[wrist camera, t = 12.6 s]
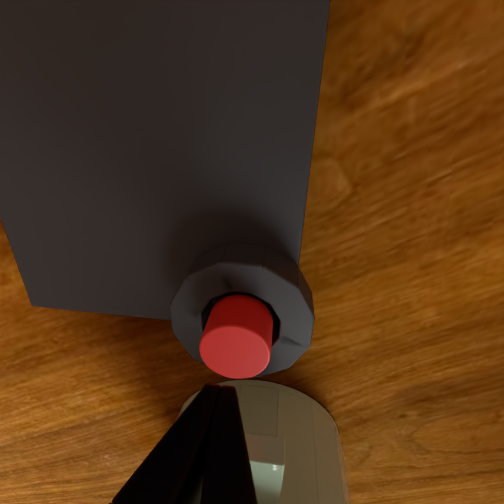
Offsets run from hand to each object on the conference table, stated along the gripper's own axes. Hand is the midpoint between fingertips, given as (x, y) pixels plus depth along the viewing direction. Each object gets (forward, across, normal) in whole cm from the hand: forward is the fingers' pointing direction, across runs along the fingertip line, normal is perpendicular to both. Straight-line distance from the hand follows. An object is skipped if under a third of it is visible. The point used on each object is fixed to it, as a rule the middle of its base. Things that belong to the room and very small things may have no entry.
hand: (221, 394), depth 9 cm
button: (+3, 0, 0) cm, 3 cm away
